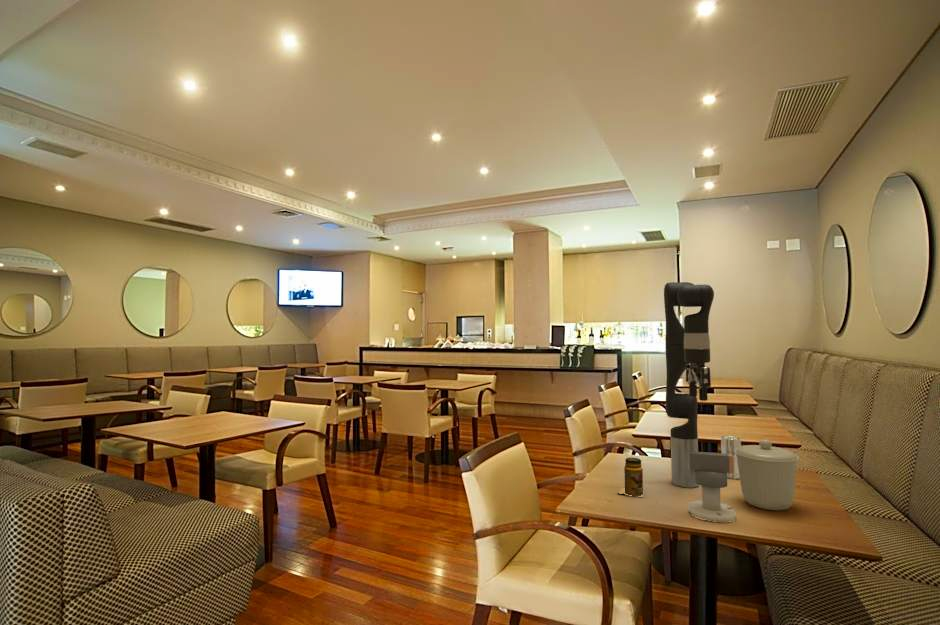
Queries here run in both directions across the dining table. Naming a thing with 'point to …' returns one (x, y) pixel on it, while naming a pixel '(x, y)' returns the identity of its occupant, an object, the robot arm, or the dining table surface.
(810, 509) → the dining table surface
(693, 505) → the post base
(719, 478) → the twist cap
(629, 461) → the condiment
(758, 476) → the canister
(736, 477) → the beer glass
